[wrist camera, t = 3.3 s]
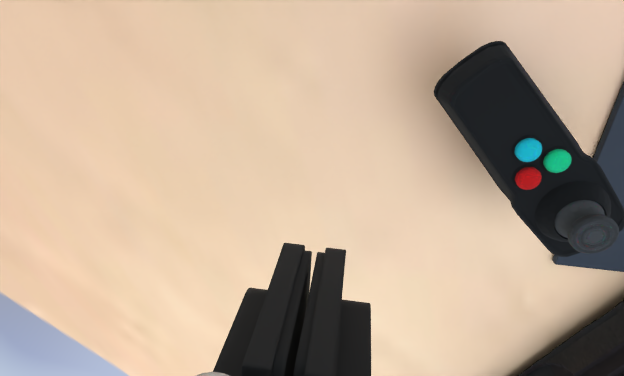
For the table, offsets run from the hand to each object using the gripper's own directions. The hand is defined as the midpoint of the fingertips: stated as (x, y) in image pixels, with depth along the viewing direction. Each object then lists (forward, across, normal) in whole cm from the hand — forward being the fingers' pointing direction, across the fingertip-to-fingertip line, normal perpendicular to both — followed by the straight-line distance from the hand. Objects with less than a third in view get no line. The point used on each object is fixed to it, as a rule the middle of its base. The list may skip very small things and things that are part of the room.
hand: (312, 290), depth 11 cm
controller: (+19, -10, 0) cm, 21 cm away
